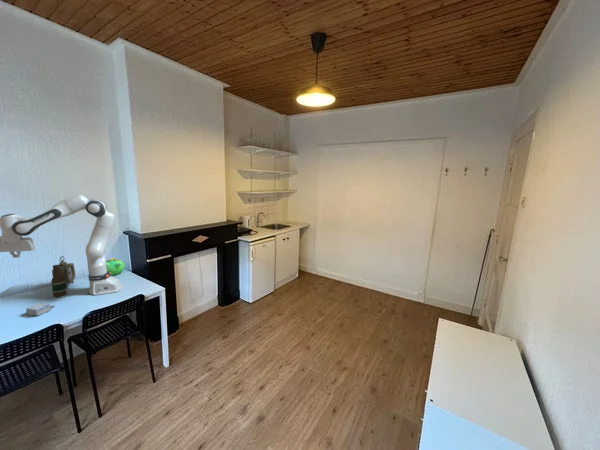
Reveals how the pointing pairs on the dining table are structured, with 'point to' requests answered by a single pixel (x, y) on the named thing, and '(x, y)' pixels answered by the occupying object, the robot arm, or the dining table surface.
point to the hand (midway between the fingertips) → (16, 257)
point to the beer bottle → (58, 283)
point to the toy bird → (114, 266)
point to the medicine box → (38, 309)
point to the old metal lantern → (66, 271)
